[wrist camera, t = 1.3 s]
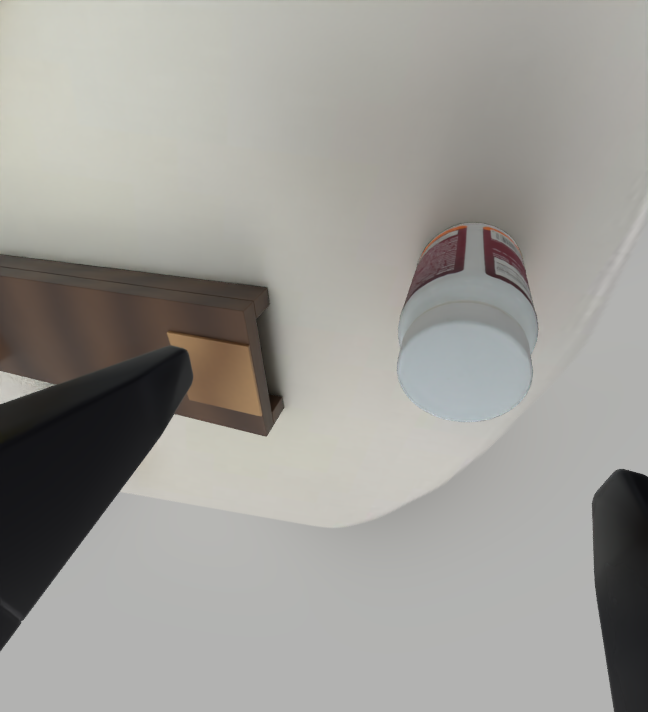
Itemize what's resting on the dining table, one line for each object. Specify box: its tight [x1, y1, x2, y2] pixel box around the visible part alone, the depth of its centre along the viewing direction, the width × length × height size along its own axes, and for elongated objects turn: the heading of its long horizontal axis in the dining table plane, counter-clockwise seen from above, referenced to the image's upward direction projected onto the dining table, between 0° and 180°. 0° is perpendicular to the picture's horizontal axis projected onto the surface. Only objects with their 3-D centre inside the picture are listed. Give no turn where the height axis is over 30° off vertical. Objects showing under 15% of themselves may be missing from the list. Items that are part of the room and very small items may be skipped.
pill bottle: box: [397, 223, 538, 422], centre depth 15 cm, size 5×5×8 cm
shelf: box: [0, 255, 284, 436], centre depth 27 cm, size 29×10×5 cm, turn 92°
